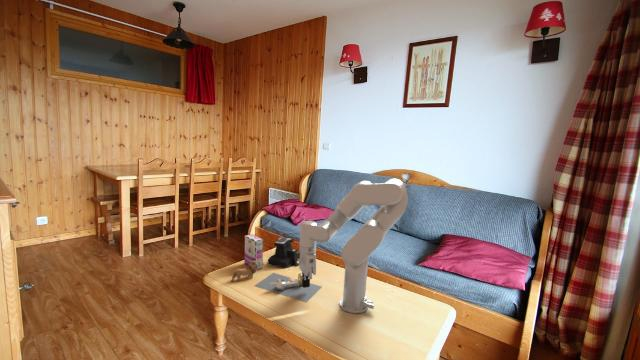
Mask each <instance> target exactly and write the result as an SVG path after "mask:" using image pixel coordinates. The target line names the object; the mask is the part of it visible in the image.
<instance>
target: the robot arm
mask: <svg viewBox="0 0 640 360" xmlns="http://www.w3.org/2000/svg"><path fill="white" fill-rule="evenodd" d="M408 198H409V195H408V190H407V187H406V185H405V184H404V182H403V181H401V180H400V179H397V178H391V179H388V180H387V181H385V182H380V183H378V182H377V183H371V181H368V180H361V181H359V182H358V183H356V184H354V186H353V187H351V190H350V191H349V192H348V193H347V194H346V195H345V196H344V197H343V198H342V199H341V200H340V201H339V202H338V204H337V206H336V209H335V210H334V211H333V212H332V213H331V214H330V215H329V216H328V217H327V218H326V220H323V222H322V223H321V224H317V222H316V221H314V220H303V221H301V222H300V227H299V228H300V229H299V246H298V247H299V248H298V253H300V256H299V259H298V263H299V265H298V268H299V270H300V271H301V273H302V287H303V288H306V287H310V283H311V280H313V275H314V276H316V274H317V255H316V252H317V242H318V243H320V244H327V242H328V243H329V241H330V240H331V239H333V237H334V236H335V235H336V234H337V233H338V232H339V231H340V230H341V229H342V227H344V226H345V225H346V224H347V223H348V222H349V221H350V220H352V219H354V217H356V215H357V214H359V212H360V211H361V210H362V209H363V208H364V207H367V206H380V207H379V208H378V210H377V211H376V212H375V213H374V214H373V215H372V216H371V217H370V218H369V219H368V220H366V221H365V222H364V223H363V225H362V226H361V227H360V229H358V231H357V232H356V233H355V234H354V235H353V236H351V237H349V239H348V240H347V241H346V243H345V244H344V246H343V247H342V249H341V253H340V254H341V260H342V261H343V262H344V267H345V268H344V278H343V279H344V281H343V295H342V297H341V298H340V299H339V302H338V304H339V307H340V308H341V310H343V311H344V312H347V313H350V314H361V313H362V314H363V313H364V312H366V311H367V310H368V308H369V309H370V310H374V309H375V304H374V302H373V301H372V300H368V296H367V295H366V290H367V277H368V267H369V258H370V256H372V254H374V252H375V251H376V250H377V249H378V248H379V247H380V245H381V244H382V243H383V241H384V238H385V236H386V235H387V233H388V232H389V231H390V229H392V227H393V226H394V225H396V223H397V222H398V220H400V218H402V215H403V214H404V213H405V212H406V208H407V206H408Z"/></svg>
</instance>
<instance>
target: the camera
mask: <svg viewBox="0 0 640 360" xmlns="http://www.w3.org/2000/svg"><path fill="white" fill-rule="evenodd" d="M293 242H295V240H293V238H288V237H284V236H281V237H279V238H278V240H277V241H275V242H274V245H273V246H274V247H276V248H275V251H274V254H273V255H271V256H270V257H268V259H267V265H269V266H273V267H280V268H285V269H286V268H288V267H290V266H291V267H299V262H298V261H299V256H300V252H299V251H297V249H295V248H293V246H292V243H293Z"/></svg>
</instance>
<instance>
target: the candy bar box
mask: <svg viewBox="0 0 640 360" xmlns="http://www.w3.org/2000/svg"><path fill="white" fill-rule="evenodd" d="M263 253H264V239H263V238H261V237H260V236H257V235H254V234H252V233H250V234H248V235H247V234H246V235H244V265H245V266H247V267H248V266H249V265H250V264H251V262H252V261H257V262H258V268H257V271H258V270H262V269H263V265H264V264H263V261H264V260H263V257H264V254H263Z"/></svg>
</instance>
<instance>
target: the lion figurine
mask: <svg viewBox="0 0 640 360" xmlns="http://www.w3.org/2000/svg"><path fill="white" fill-rule="evenodd" d="M257 268H258V262H257V261H252V262H251V264H250V265H249V266H247V267H245V268H236V269H235V270H234V271H233V273H232V277H231V281H230V282H231V283H233V282H234V280H235V278H236V279H237V282H240V281H241V280H240V279H241V276H242V277H246V276H247V278H250V279H253V278H254V277H253V276H254V274H255V273H257V271H258V270H257Z"/></svg>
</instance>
